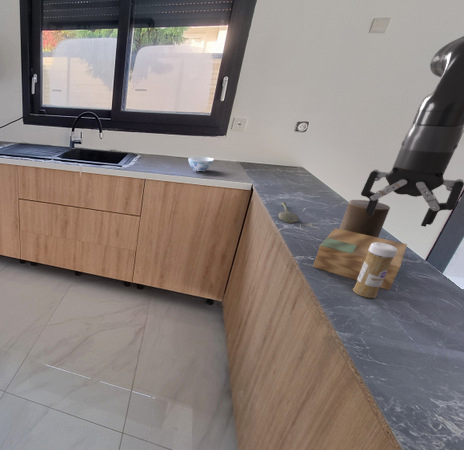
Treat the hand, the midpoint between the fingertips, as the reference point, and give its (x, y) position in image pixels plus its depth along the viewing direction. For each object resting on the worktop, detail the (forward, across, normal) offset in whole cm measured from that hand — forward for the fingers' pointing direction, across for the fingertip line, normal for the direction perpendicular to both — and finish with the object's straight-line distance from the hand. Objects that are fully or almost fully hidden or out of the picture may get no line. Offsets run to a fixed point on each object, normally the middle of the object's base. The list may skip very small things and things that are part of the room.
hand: (395, 220), depth 70 cm
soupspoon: (+20, +31, -48) cm, 61 cm away
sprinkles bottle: (+20, 0, 0) cm, 20 cm away
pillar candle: (+20, +7, -34) cm, 40 cm away
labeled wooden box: (+20, +4, -15) cm, 25 cm away
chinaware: (+20, +93, -95) cm, 135 cm away
